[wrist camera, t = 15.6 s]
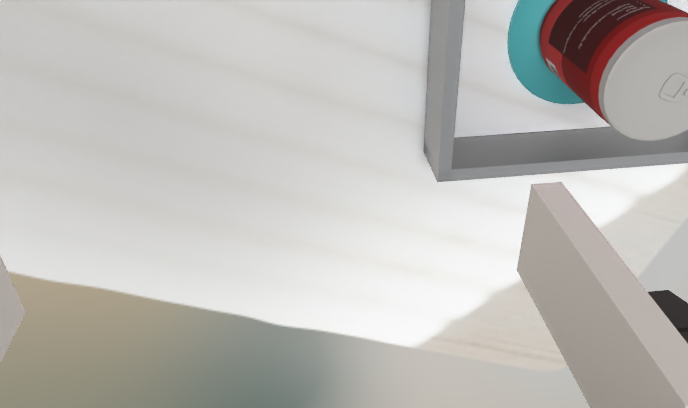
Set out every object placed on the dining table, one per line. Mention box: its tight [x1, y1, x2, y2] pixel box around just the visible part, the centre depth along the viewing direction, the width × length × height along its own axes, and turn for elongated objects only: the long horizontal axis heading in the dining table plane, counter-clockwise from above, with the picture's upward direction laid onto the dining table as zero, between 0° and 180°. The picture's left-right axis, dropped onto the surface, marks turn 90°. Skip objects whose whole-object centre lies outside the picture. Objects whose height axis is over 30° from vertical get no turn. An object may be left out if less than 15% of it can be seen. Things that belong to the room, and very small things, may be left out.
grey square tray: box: [424, 0, 688, 182], centre depth 42 cm, size 24×19×5 cm
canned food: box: [540, 0, 688, 141], centre depth 40 cm, size 8×8×11 cm
